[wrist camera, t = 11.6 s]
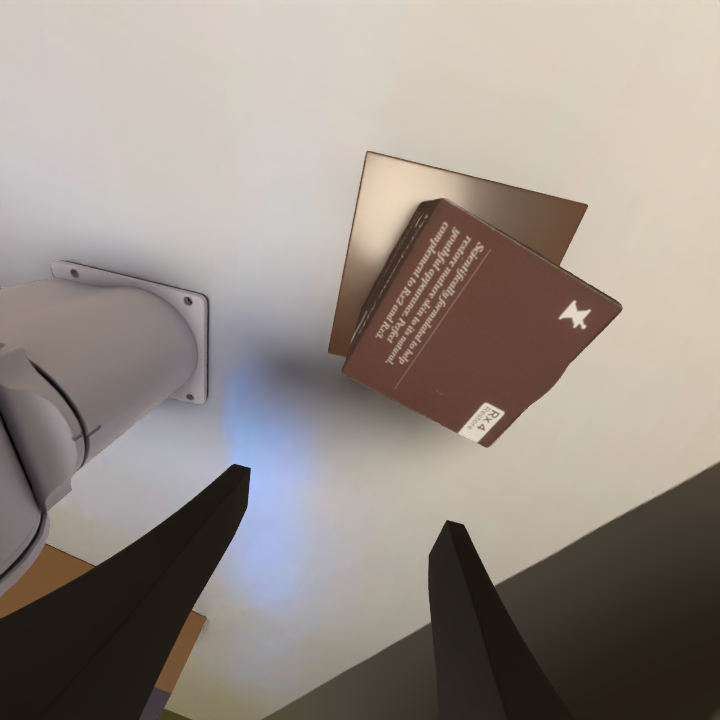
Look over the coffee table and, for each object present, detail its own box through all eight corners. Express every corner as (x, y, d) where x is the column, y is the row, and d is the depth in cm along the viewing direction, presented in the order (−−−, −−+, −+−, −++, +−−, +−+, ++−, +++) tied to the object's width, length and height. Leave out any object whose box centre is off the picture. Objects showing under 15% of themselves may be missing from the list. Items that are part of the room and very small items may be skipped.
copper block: (333, 340, 20) (327, 353, 18) (369, 156, 16) (366, 150, 14) (488, 378, 20) (497, 395, 18) (567, 205, 16) (589, 204, 14)
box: (422, 197, 14) (444, 186, 8) (530, 264, 15) (635, 306, 9) (358, 310, 17) (334, 375, 10) (454, 363, 18) (488, 455, 11)
